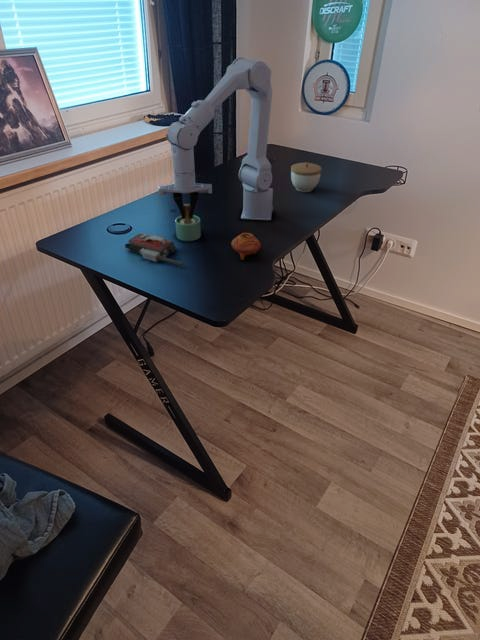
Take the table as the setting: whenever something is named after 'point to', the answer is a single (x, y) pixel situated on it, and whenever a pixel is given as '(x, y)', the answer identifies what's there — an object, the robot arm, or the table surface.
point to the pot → (245, 244)
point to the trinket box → (305, 176)
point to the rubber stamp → (187, 216)
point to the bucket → (188, 229)
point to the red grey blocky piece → (152, 248)
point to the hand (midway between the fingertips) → (187, 217)
